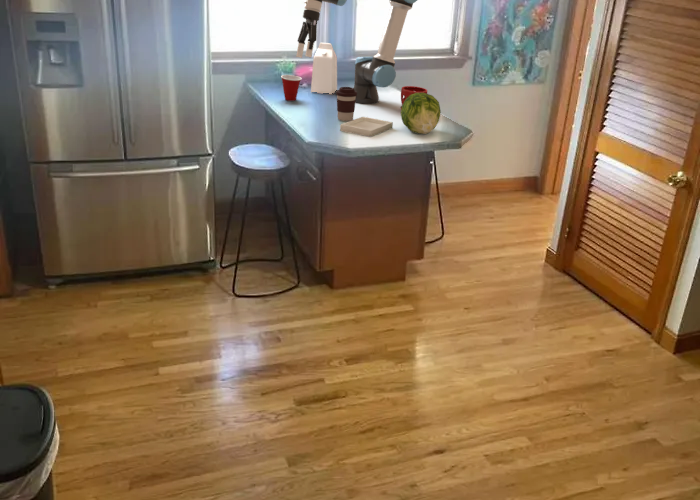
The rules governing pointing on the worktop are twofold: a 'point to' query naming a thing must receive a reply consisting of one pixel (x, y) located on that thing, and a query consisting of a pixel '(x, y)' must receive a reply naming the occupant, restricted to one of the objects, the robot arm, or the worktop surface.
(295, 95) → the plastic cup
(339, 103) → the coffee cup
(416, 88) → the plant pot
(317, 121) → the worktop surface
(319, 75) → the milk
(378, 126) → the tray
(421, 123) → the lettuce
